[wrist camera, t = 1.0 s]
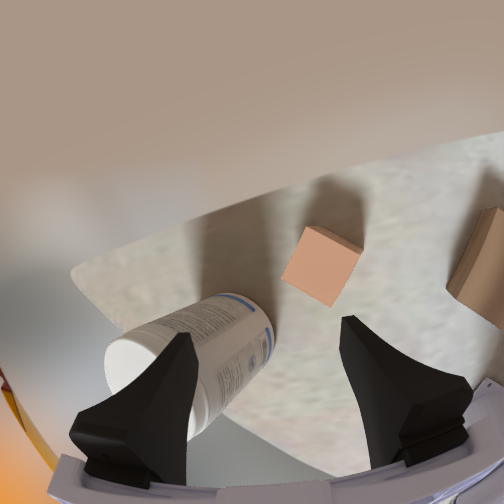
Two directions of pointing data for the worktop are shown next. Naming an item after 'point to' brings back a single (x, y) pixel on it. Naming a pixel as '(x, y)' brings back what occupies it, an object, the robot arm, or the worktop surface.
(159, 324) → the supplement tub
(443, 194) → the worktop surface
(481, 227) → the walnut block
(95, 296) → the worktop surface
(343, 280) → the orange-tan cube
